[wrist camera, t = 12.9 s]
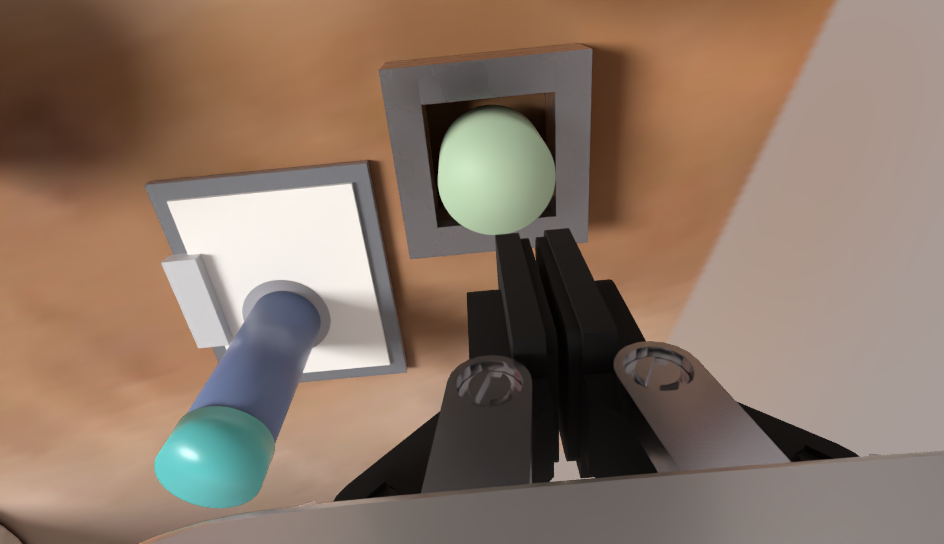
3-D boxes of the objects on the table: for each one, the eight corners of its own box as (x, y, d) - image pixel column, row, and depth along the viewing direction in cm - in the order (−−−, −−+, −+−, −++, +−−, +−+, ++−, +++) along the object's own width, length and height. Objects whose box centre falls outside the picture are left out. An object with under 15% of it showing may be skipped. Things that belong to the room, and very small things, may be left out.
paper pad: (407, 366, 29) (405, 382, 28) (229, 383, 29) (220, 399, 28) (367, 160, 23) (363, 168, 22) (145, 181, 23) (129, 191, 22)
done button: (544, 202, 23) (556, 229, 20) (445, 211, 23) (445, 240, 20) (541, 99, 20) (555, 115, 18) (433, 110, 20) (430, 127, 18)
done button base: (576, 221, 25) (587, 242, 23) (413, 236, 25) (410, 259, 23) (578, 43, 21) (592, 48, 19) (386, 62, 21) (378, 69, 19)
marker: (261, 349, 27) (176, 511, 19) (241, 292, 25) (137, 443, 17) (329, 344, 27) (273, 504, 19) (313, 286, 25) (244, 435, 17)
